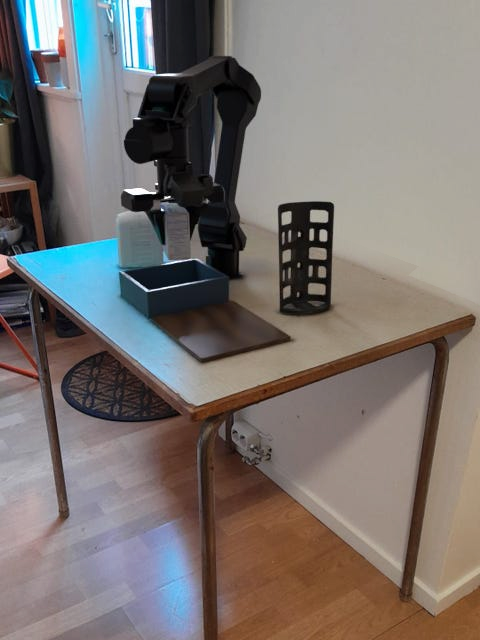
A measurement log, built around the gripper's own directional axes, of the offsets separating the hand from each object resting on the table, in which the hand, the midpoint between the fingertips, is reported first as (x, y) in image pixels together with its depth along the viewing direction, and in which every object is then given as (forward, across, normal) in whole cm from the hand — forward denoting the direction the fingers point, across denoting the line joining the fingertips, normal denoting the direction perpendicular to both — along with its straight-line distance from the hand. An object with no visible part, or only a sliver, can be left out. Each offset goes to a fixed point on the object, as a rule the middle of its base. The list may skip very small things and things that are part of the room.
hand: (175, 242), depth 125 cm
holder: (+12, +20, -14) cm, 27 cm away
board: (+12, 0, -16) cm, 20 cm away
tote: (+12, 0, +2) cm, 12 cm away
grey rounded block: (+12, +3, +25) cm, 28 cm away
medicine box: (+2, 0, 0) cm, 2 cm away
